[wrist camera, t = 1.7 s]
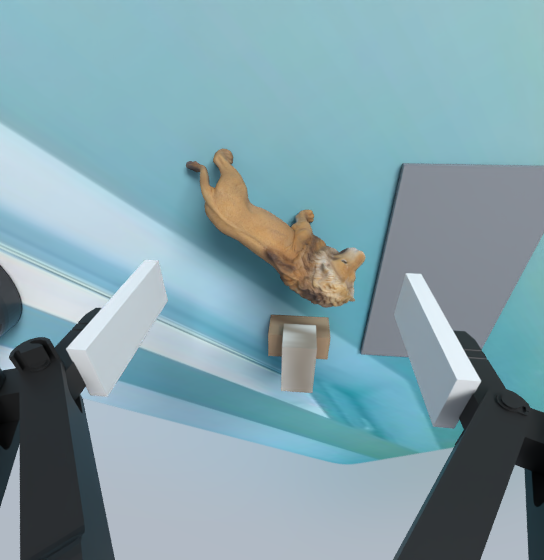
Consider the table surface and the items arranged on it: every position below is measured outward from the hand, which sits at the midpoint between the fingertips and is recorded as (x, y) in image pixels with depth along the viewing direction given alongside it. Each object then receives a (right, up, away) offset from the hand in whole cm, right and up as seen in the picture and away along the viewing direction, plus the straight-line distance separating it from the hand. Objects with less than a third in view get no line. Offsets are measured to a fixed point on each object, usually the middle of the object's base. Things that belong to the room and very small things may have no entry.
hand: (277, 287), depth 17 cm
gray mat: (+15, +1, +11) cm, 19 cm away
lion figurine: (0, +7, +9) cm, 11 cm away
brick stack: (+3, -5, +16) cm, 17 cm away
